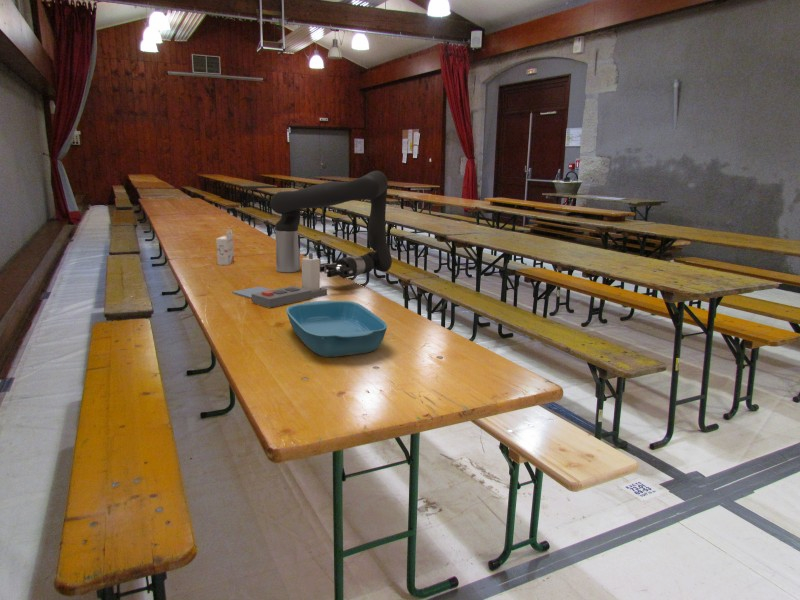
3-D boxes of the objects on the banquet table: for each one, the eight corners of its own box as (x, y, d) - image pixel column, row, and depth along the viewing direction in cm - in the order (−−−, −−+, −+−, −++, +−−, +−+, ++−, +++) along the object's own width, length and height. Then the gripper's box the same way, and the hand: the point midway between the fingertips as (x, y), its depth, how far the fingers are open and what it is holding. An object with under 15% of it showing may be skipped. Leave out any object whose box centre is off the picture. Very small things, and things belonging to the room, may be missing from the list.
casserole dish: (279, 324, 166) (278, 301, 165) (351, 318, 175) (351, 296, 174) (312, 368, 134) (312, 339, 132) (399, 357, 143) (400, 330, 141)
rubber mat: (260, 288, 209) (259, 286, 209) (281, 293, 202) (280, 292, 202) (232, 293, 200) (232, 291, 200) (253, 299, 193) (253, 297, 192)
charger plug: (311, 292, 205) (311, 251, 201) (319, 294, 202) (319, 253, 199) (302, 294, 202) (301, 252, 198) (310, 296, 199) (310, 254, 195)
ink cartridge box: (223, 261, 256) (221, 229, 252) (234, 261, 256) (233, 229, 252) (217, 265, 248) (215, 231, 244) (228, 265, 248) (226, 232, 244)
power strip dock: (310, 290, 208) (310, 279, 207) (328, 294, 202) (328, 284, 201) (251, 302, 188) (251, 291, 187) (269, 308, 183) (269, 296, 182)
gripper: (337, 254, 219) (305, 259, 207) (364, 259, 210) (333, 265, 198) (337, 273, 221) (306, 279, 208) (364, 279, 212) (333, 285, 200)
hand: (319, 272), depth 203 cm, fingers open, 8 cm apart
